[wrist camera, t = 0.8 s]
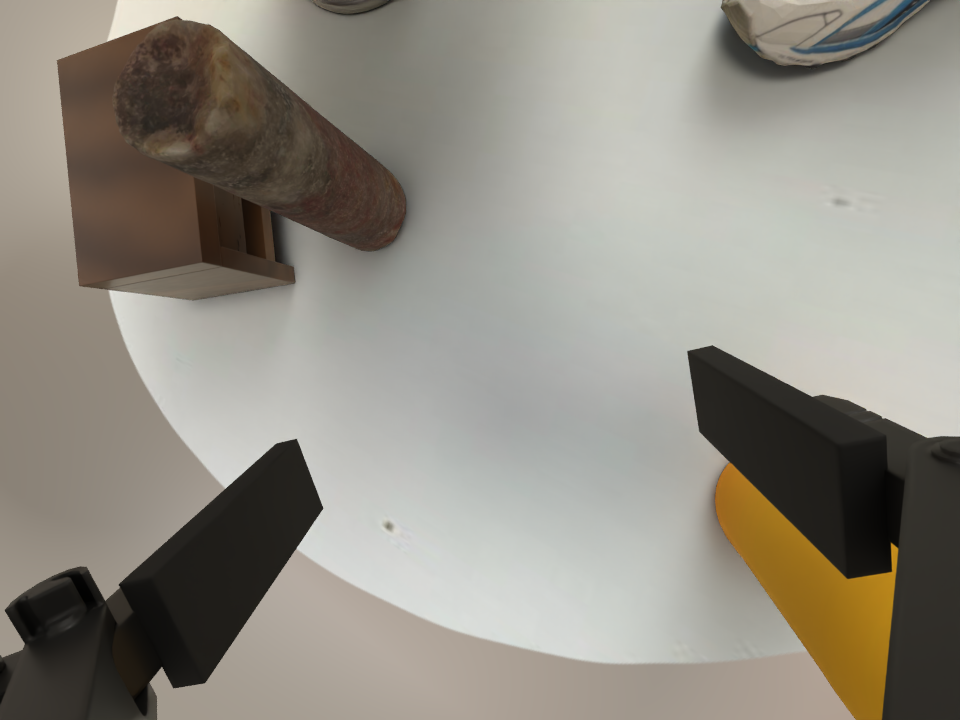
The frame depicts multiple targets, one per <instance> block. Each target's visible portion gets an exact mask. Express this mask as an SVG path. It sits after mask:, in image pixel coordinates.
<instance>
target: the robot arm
mask: <svg viewBox="0 0 960 720" xmlns="http://www.w3.org/2000/svg"><path fill="white" fill-rule="evenodd" d="M311 1H312V2H313V3H315V4H316V5H318V6H319V7H321V8H324V9H326V10H329V11H332V12H336V13H344V14H352V13H360V12H365V11H368V10H371V9H374V8H377V7H379V6H381V5H383V4H385V3H387V2H388V1H390V0H311ZM687 353H688V359H689V366H690V373H691V379H692V386H693V393H694V399H695V406H696V413H697V420H698V426H699V432H700V433H701V434H702V435H703V436H704V437H705V438H706V439H707V440H708V441H709V442H710V443H711V444H712V445H713V446H714V447H715V448H716V449H717V450H718V451H719V452H720V453H721V454H722V455H723V456H724V457H725V458H726V459H727V460H728V461H729V462H730V463H731V464H732V465H733V466H734V467H735V468H736V469H737V470H738V471H739V472H740V473H741V474H742V475H743V476H744V477H745V478H746V479H747V480H748V481H749V482H750V483H751V484H752V485H753V486H754V487H755V488H756V489H757V490H758V491H759V492H760V493H761V494H762V495H763V496H764V497H765V498H766V499H767V500H768V501H769V502H770V503H771V504H772V505H773V506H774V507H775V508H776V509H777V510H778V511H779V512H780V513H781V514H782V515H783V516H784V517H785V518H786V519H788V520H789V521H790V522H791V523H792V524H793V525H794V526H795V527H796V528H797V529H798V530H799V531H800V532H801V533H802V534H803V535H804V536H805V537H806V538H807V539H808V540H809V541H810V542H811V543H812V544H813V545H814V546H815V547H816V548H817V549H818V550H819V551H820V552H821V553H822V554H823V555H824V556H825V557H826V558H827V559H828V560H829V561H830V562H831V563H832V564H833V565H834V566H835V567H836V568H837V569H838V570H839V571H840V572H841V573H842V574H843V575H844V576H845V577H846V578H847V579H852V578H858V577H864V576H871V575H877V574H883V573H889V572H892V556H891V543H892V544H893V545H894V546H896V547H897V548H898V557H897V568H896V578H895V588H894V599H893V609H892V619H891V630H890V640H889V650H888V661H887V671H886V681H885V692H884V702H883V712H882V720H960V437H949V436H940V437H933V438H926V437H924V436H922V435H920V434H918V433H915V432H913V431H911V430H909V429H907V428H905V427H903V426H901V425H899V424H896V423H894V422H892V421H890V420H888V419H886V418H885V419H882V416H880V415H877V414H875V413H873V412H871V411H866V409H865V408H863V407H860V406H858V405H856V404H854V403H852V402H850V401H848V400H844V399H839V398H835V397H830V396H826V395H819V396H815V397H811V396H809V395H808V394H806V393H804V392H802V391H800V390H798V389H796V388H794V387H792V386H790V385H788V384H786V383H784V382H782V381H780V380H778V379H777V378H775V377H773V376H771V375H769V374H767V373H765V372H763V371H761V370H759V369H757V368H755V367H753V366H751V365H749V364H747V363H746V362H744V361H742V360H740V359H738V358H736V357H734V356H732V355H730V354H728V353H726V352H724V351H722V350H720V349H718V348H716V347H715V346H708V347H704V348H699V349H695V350H690V351H687ZM322 510H323V506H322V504H321V501H320V498H319V496H318V493H317V490H316V488H315V485H314V483H313V480H312V477H311V475H310V472H309V470H308V467H307V464H306V462H305V459H304V456H303V454H302V451H301V449H300V446H299V443H298V441H297V439H294V440H290V441H285V442H281V443H277V444H275V445H274V446H273V447H272V448H271V449H270V450H269V451H267V452H266V453H265V454H264V455H263V456H262V457H261V458H260V459H259V460H257V461H256V462H255V463H254V464H253V465H252V466H251V467H250V468H248V469H247V470H246V471H245V472H244V473H243V474H242V475H241V476H239V477H238V478H237V479H236V480H235V481H234V482H233V483H232V484H230V485H229V486H228V487H227V488H226V489H225V490H224V491H223V492H222V493H220V494H219V495H218V496H217V497H216V498H215V499H214V500H213V501H212V502H210V503H209V504H208V505H207V506H206V507H205V508H204V509H202V510H201V511H200V512H199V513H198V514H197V515H196V516H195V517H194V518H192V519H191V520H190V521H189V522H188V523H187V524H186V525H185V526H183V527H182V528H181V529H180V530H179V531H178V532H177V533H176V534H175V535H173V536H172V537H171V538H170V539H169V540H168V541H167V542H166V543H164V544H163V545H162V546H161V547H160V548H159V549H158V550H157V551H155V552H154V553H153V554H152V555H151V556H150V557H149V558H148V559H147V560H146V561H144V562H143V563H142V564H141V565H140V566H139V567H138V568H136V569H135V570H134V571H133V572H132V573H131V574H130V575H129V576H128V577H126V578H125V579H124V580H123V581H122V582H121V583H120V584H119V586H120V588H119V589H118V590H117V591H116V592H115V593H114V594H113V595H111V596H110V597H109V598H108V599H107V600H106V601H105V600H104V598H103V596H102V594H101V592H100V591H99V589H98V587H97V585H96V583H95V581H94V580H93V578H92V576H91V574H90V572H89V570H88V569H87V567H77V568H73V569H69V570H66V571H64V572H61V573H59V574H57V575H54V576H52V577H50V578H48V579H46V580H44V581H43V582H40V583H39V584H37V585H35V586H34V587H32V588H31V589H29V590H27V591H26V592H24V593H23V594H21V595H20V596H19V597H18V598H16V599H15V600H14V601H12V602H11V603H10V605H9V606H8V607H7V608H6V609H5V612H6V613H7V615H8V617H9V618H10V620H11V622H12V623H13V625H14V627H15V628H16V630H17V632H18V633H19V635H20V636H21V638H22V640H23V641H24V643H25V645H24V648H23V650H21V651H19V652H16V653H14V654H11V655H9V656H6V657H3V658H2V657H1V656H0V720H157V696H156V695H155V692H154V690H153V688H152V686H151V685H150V683H149V682H150V681H151V680H152V678H153V677H154V676H155V675H156V673H157V672H158V671H159V669H160V668H161V667H163V669H164V671H165V673H166V675H167V677H168V679H169V681H170V683H171V684H172V686H173V688H179V687H185V686H191V685H197V684H203V683H205V682H206V681H207V679H208V678H209V677H210V675H211V674H212V672H213V671H214V669H215V668H216V666H217V665H218V663H219V662H220V660H221V659H222V657H223V656H224V654H225V653H226V651H227V650H228V648H229V647H230V646H231V644H232V643H233V641H234V640H235V638H236V637H237V635H238V634H239V632H240V631H241V629H242V628H243V626H244V625H245V623H246V622H247V620H248V619H249V617H250V616H251V614H252V613H253V612H254V610H255V609H256V607H257V606H258V604H259V603H260V601H261V600H262V598H263V597H264V595H265V594H266V592H267V591H268V589H269V588H270V586H271V585H272V583H273V582H274V580H275V579H276V578H277V576H278V574H279V573H280V572H281V570H282V569H283V567H284V566H285V564H286V563H287V561H288V560H289V558H290V557H291V555H292V554H293V552H294V551H295V550H296V548H297V547H298V545H299V544H300V542H301V541H302V539H303V538H304V536H305V535H306V533H307V532H308V530H309V529H310V527H311V526H312V524H313V523H314V521H315V520H316V518H317V517H318V516H319V514H320V513H321V511H322Z"/></svg>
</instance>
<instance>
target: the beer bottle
mask: <svg viewBox="0 0 960 720" xmlns="http://www.w3.org/2000/svg"><path fill="white" fill-rule="evenodd" d="M715 505H716V512H717V516H718V520H719V523H720V525H721V527H722V529H723V531H724V533H725V535H726V537H727V539H728V540H729V541H730V543H731V544H732V545H733V547H734V548H735V549H736V551H737V552H738V553H739V554H740V556H741V557H742V558H743V559H744V561H745V562H746V564H747V565H748V567H749V568H750V569H751V571H752V572H753V574H754V575H755V577H756V578H757V579H758V581H759V582H760V584H761V585H762V587H763V588H764V589H765V591H766V592H767V594H768V595H769V597H770V598H771V599H772V601H773V602H774V604H775V605H776V607H777V608H778V609H779V611H780V612H781V614H782V615H783V617H784V618H785V619H786V621H787V622H788V624H789V625H790V627H791V628H792V629H793V631H794V632H795V634H796V635H797V637H798V638H799V639H800V641H801V642H802V644H803V645H804V647H805V648H806V649H807V651H808V652H809V654H810V655H811V656H812V658H813V659H814V661H815V662H816V664H817V665H818V666H819V668H820V669H821V671H822V672H823V674H824V676H825V677H826V679H827V680H828V682H829V683H830V685H831V686H832V688H833V689H834V691H835V692H836V693H837V695H838V696H839V698H840V699H841V700H842V702H843V703H844V704H845V706H846V707H847V708H848V710H849V711H850V712H851V714H852V715H853V716H854V718H855V719H856V720H882V712H883V702H884V692H885V681H886V671H887V661H888V650H889V640H890V630H891V619H892V609H893V599H894V588H895V578H896V568H897V557H898V548H897V547H896V546H894V545H893V544H892V543H891V556H892V572H889V573H883V574H877V575H871V576H864V577H858V578H852V579H847V578H846V577H845V576H844V575H843V574H842V573H841V572H840V571H839V570H838V569H837V568H836V567H835V566H834V565H833V564H832V563H831V562H830V561H829V560H828V559H827V558H826V557H825V556H824V555H823V554H822V553H821V552H820V551H819V550H818V549H817V548H816V547H815V546H814V545H813V544H812V543H811V542H810V541H809V540H808V539H807V538H806V537H805V536H804V535H803V534H802V533H801V532H800V531H799V530H798V529H797V528H796V527H795V526H794V525H793V524H792V523H791V522H790V521H789V520H788V519H786V518H785V517H784V516H783V515H782V514H781V513H780V512H779V511H778V510H777V509H776V508H775V507H774V506H773V505H772V504H771V503H770V502H769V501H768V500H767V499H766V498H765V497H764V496H763V495H762V494H761V493H760V492H759V491H758V490H757V489H756V488H755V487H754V486H753V485H752V484H751V483H750V482H749V481H748V480H747V479H746V478H745V477H744V476H743V475H742V474H741V473H740V472H739V471H738V470H737V469H736V468H735V467H734V466H733V465H732V464H731V463H730V462H729V464H728V465H727V466H726V467H725V469H724V470H723V472H722V474H721V475H720V478H719V480H718V483H717V486H716V493H715Z"/></svg>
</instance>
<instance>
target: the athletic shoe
mask: <svg viewBox="0 0 960 720" xmlns="http://www.w3.org/2000/svg"><path fill="white" fill-rule="evenodd" d="M929 1H930V0H723V1H722V6H721V8H722V10H723V11H724V12H725V14H726V16H727V17H728V19H729V21H730V23H731V24H732V26H733V28H734V29H735V31H736V32H737V33H738V35H739V36H740V38H741V39H742V40H743V41H744V42H745V43H746V44H747V45H748V46H749V47H750V48H752V49H753V50H754V51H755V52H756V53H757V54H758V55H759V56H760V57H761V58H764V59H767V60H773V61H774V62H775V63H776V64H778V65H783V66H787V65H803V66H805V67H808V68H810V69H814V68H817V67H818V66H820V65H821V64H824V63H827V62H833V61H839V60H840V61H845V60H848V59H851V58H853V57H854V56H856V55H857V54H859V53H860V52H862V51H864V50H869V49H871V48H873V47H875V46H876V45H877V44H878V43H879V42H880V41H882V40H883V39H885V38H886V37H888V36H889V35H891V34H892V33H893V32H895V31H896V30H897V29H898V28H899V27H900V26H901V24H902V23H903V22H905V21H906V20H907V19H909V18H910V17H911V16H913V15H914V14H915V13H917V12H918V11H919V10H921V9H922V8H923V7H924V6H925V5H926V4H927V3H928V2H929Z"/></svg>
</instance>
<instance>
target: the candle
mask: <svg viewBox="0 0 960 720" xmlns="http://www.w3.org/2000/svg"><path fill="white" fill-rule="evenodd" d="M112 98H113V107H114V112H115V119H116V123H117V125H118V127H119V131H120V133H121V134H122V136H123V137H124V139H125V141H126V143H128V144H129V145H131V146H132V147H134V148H135V149H136V150H138V151H139V152H140V153H142V154H143V155H145V156H147V157H149V158H151V159H155V160H157V161H160V162H162V163H164V164H166V165H168V166H171V167H173V168H175V169H177V170H179V171H182V172H184V173H186V174H188V175H191V176H193V177H195V178H198V179H200V180H202V181H205V182H208V183H210V184H212V185H215V186H217V187H219V188H221V189H223V190H225V191H227V192H229V193H232V194H234V195H236V196H239V197H241V198H243V199H245V200H248V201H250V202H253V203H255V204H257V205H259V206H261V207H263V208H266V209H269V210H271V211H273V212H275V213H277V214H279V215H282V216H284V217H286V218H288V219H290V220H292V221H295V222H297V223H300V224H302V225H304V226H306V227H309V228H311V229H313V230H315V231H317V232H320V233H322V234H324V235H326V236H328V237H330V238H333V239H335V240H337V241H340V242H342V243H345V244H347V245H349V246H352V247H354V248H356V249H359V250H362V251H375V250H378V249H380V248H382V247H385V246H387V245H388V244H390V243H391V242H392V241H393V240H394V239H395V237H396V235H397V233H398V230H399V229H400V227H401V224H402V222H403V220H404V217H405V214H406V199H405V195H404V193H403V190H402V187H401V186H400V184H399V182H398V181H397V180H396V178H395V177H394V176H393V174H392V173H391V172H390V171H389V170H387V169H386V168H385V167H384V166H383V165H382V164H380V163H379V162H378V161H377V160H376V159H375V158H373V157H372V156H371V155H370V154H368V153H367V152H366V151H365V150H363V149H362V148H361V147H360V146H358V145H357V144H356V143H355V142H353V141H352V140H351V139H350V138H348V137H347V136H346V135H345V134H344V133H343V132H341V131H340V130H339V129H338V128H336V127H335V126H334V125H333V124H331V123H330V122H329V121H328V120H327V119H325V118H324V117H323V116H321V115H320V114H319V113H318V112H317V111H315V110H314V109H313V108H312V107H311V106H310V105H309V104H307V103H306V102H305V101H304V100H303V99H301V98H300V97H299V96H298V95H296V94H295V93H294V92H293V91H292V90H290V89H289V88H288V87H287V86H286V85H285V84H283V83H282V82H281V81H280V80H278V79H277V78H276V77H275V76H274V75H272V74H271V73H270V72H269V71H267V70H266V69H265V68H264V67H263V66H261V65H260V64H259V63H258V62H257V61H255V60H254V59H253V58H252V57H251V56H250V55H248V54H247V53H246V52H245V51H243V50H242V49H241V48H240V47H238V46H237V45H236V44H235V43H233V42H232V41H231V40H230V39H229V38H228V37H227V36H225V35H224V34H223V33H222V32H221V31H220V30H218V29H216V28H214V27H213V26H211V25H206V24H202V23H197V22H194V21H184V20H178V19H176V20H171V21H168V22H163V23H161V24H159V25H157V26H156V27H155V28H154V29H153V30H152V31H151V32H149V33H148V34H147V35H146V36H145V38H144V39H143V41H142V42H141V43H140V44H139V45H137V47H136V48H135V50H134V51H133V52H132V53H131V55H130V57H129V59H128V61H127V63H126V65H125V66H124V68H123V70H122V72H121V73H120V75H119V76H118V78H117V80H116V83H115V85H114V93H113V96H112Z"/></svg>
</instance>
